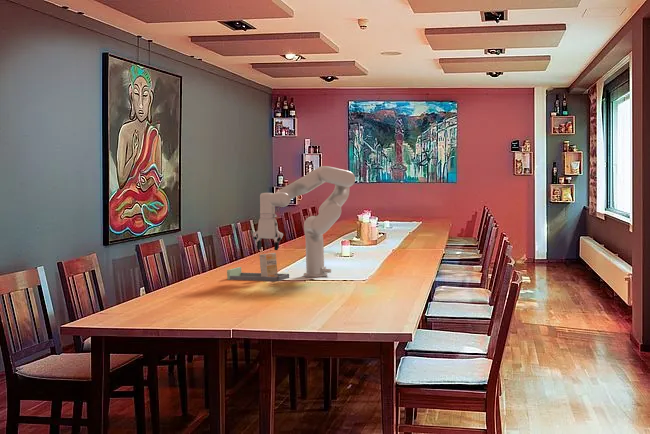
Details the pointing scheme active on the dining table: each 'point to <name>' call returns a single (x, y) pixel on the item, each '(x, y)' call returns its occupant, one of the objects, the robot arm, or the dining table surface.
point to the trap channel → (252, 276)
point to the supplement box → (268, 265)
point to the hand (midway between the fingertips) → (267, 249)
